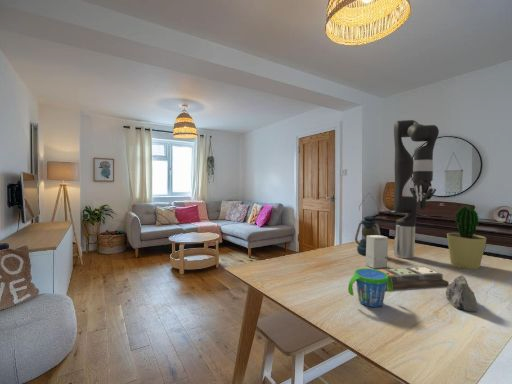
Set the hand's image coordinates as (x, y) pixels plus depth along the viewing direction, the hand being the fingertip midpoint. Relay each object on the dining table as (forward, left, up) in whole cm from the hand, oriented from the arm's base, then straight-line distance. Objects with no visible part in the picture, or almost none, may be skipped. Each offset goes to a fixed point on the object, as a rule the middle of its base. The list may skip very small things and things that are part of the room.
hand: (421, 209), depth 118 cm
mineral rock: (+29, -9, -29) cm, 42 cm away
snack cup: (+24, -40, -29) cm, 55 cm away
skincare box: (-11, -14, -29) cm, 34 cm away
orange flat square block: (+8, -25, -27) cm, 38 cm away
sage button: (+8, -15, -27) cm, 32 cm away
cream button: (+8, -5, -27) cm, 29 cm away
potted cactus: (-6, +31, -29) cm, 43 cm away
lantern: (-32, -5, -29) cm, 44 cm away
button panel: (+8, -15, -29) cm, 34 cm away
